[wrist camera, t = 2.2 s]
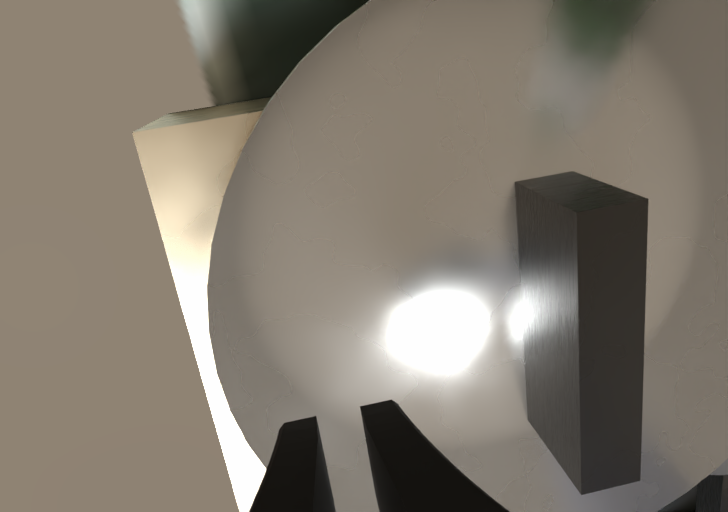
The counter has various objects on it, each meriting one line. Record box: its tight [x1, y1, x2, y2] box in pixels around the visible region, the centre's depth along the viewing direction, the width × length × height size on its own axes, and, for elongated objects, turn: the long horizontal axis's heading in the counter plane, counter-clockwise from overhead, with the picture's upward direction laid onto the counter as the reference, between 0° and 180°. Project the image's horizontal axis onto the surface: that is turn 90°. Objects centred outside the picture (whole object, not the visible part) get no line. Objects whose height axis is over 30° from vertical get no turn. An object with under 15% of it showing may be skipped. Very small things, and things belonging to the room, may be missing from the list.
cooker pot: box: [132, 97, 728, 512], centre depth 19 cm, size 24×28×5 cm
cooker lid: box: [207, 0, 728, 512], centre depth 14 cm, size 18×18×4 cm
